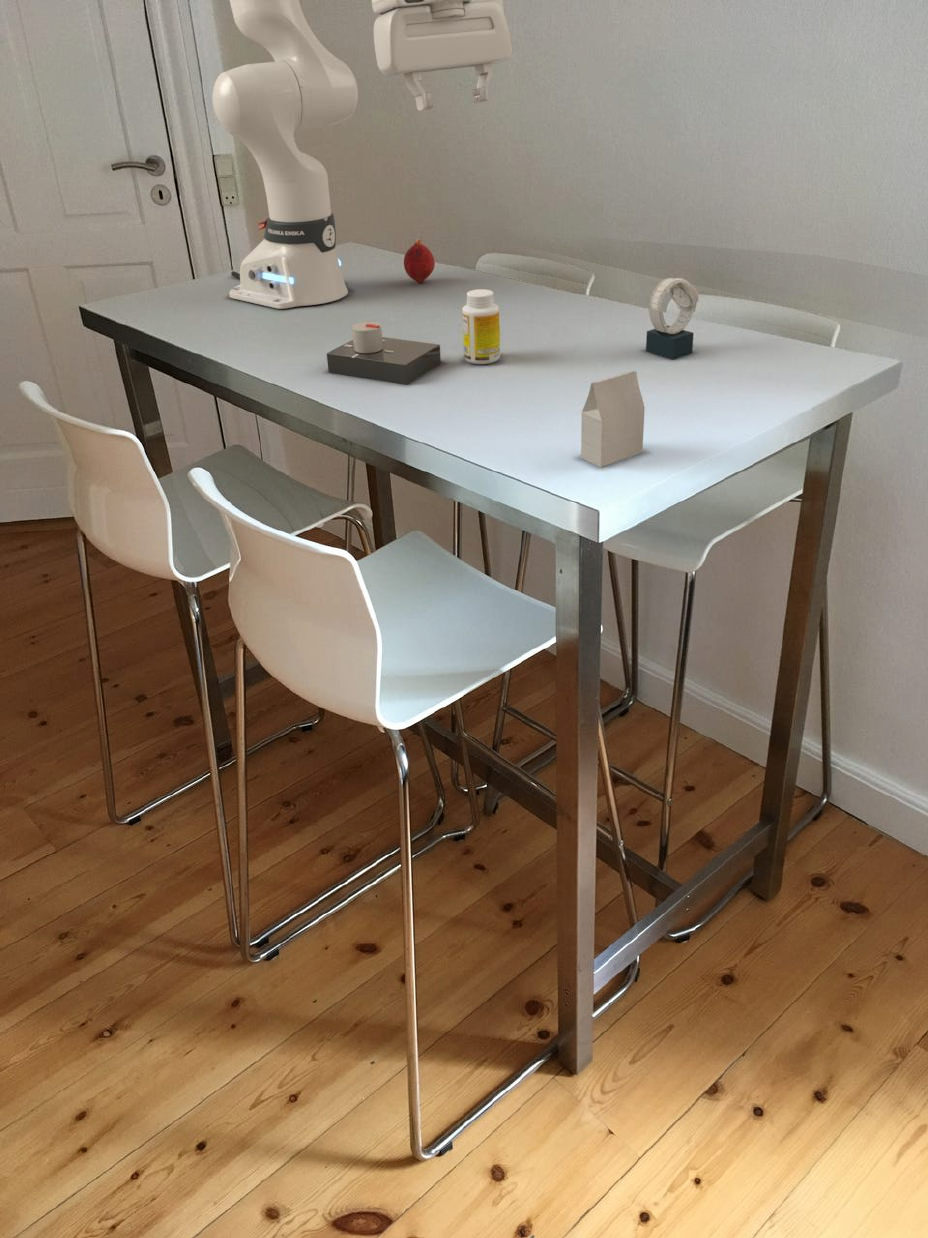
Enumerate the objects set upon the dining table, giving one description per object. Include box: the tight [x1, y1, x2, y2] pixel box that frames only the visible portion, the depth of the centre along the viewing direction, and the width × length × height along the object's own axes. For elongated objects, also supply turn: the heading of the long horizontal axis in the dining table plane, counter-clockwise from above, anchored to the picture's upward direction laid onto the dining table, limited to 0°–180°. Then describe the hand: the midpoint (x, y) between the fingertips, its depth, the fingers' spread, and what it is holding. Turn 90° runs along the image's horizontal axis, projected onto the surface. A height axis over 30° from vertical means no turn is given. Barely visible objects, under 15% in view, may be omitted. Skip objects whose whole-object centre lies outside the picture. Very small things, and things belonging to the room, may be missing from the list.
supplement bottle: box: [461, 288, 501, 365], centre depth 164 cm, size 6×6×10 cm
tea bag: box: [580, 370, 646, 468], centre depth 131 cm, size 4×7×10 cm, turn 124°
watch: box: [645, 277, 700, 360], centre depth 163 cm, size 6×8×11 cm
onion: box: [403, 238, 436, 284], centre depth 204 cm, size 6×6×8 cm
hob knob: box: [351, 321, 383, 353], centre depth 163 cm, size 4×4×4 cm
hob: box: [326, 336, 442, 385], centre depth 164 cm, size 14×10×3 cm
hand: (453, 105), depth 149 cm, fingers open, 8 cm apart
